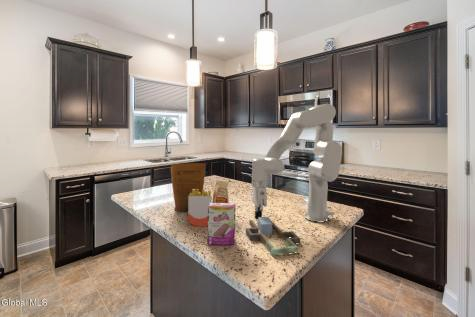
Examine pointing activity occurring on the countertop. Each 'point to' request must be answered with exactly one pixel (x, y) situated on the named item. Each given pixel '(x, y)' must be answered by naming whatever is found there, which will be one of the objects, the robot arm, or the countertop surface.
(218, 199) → the milk carton
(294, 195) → the countertop surface
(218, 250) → the countertop surface
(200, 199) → the french fries container
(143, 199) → the countertop surface
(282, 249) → the lane
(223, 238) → the candy bar box
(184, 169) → the pancake mix bag
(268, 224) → the block
